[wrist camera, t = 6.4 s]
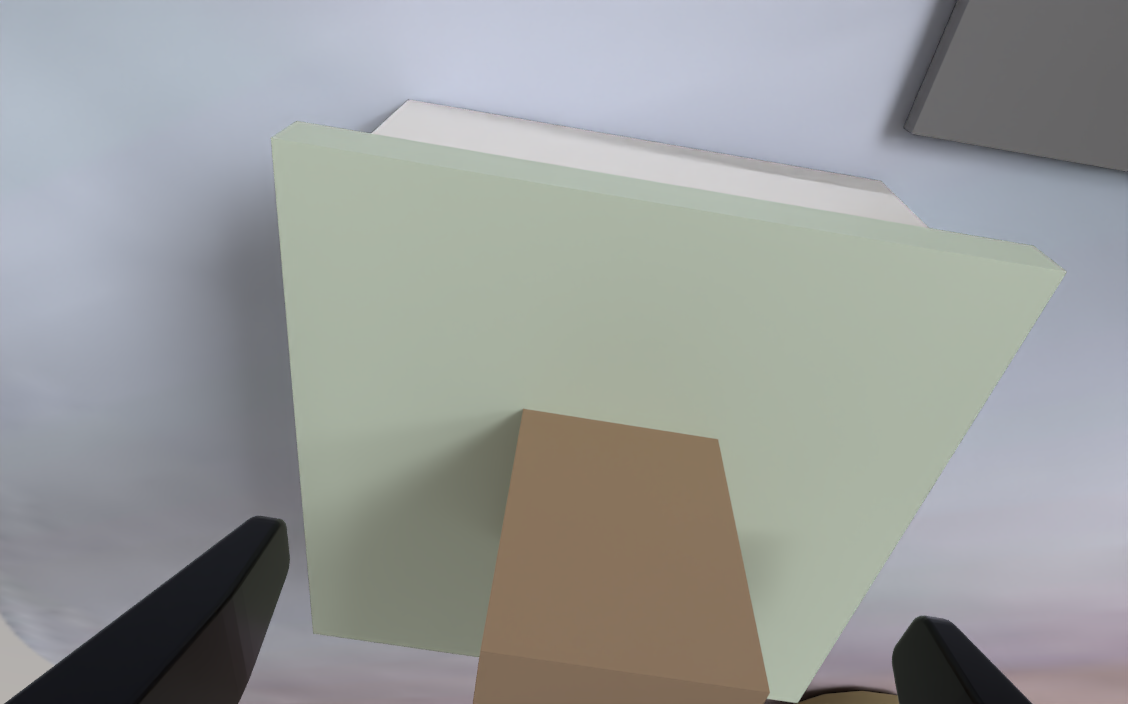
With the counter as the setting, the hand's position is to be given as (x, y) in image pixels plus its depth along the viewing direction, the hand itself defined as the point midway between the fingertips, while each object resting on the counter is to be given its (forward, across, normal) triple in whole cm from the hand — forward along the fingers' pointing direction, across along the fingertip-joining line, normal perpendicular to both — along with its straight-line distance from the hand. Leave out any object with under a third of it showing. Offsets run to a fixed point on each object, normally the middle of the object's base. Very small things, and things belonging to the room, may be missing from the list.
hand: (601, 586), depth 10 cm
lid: (+3, 0, 0) cm, 3 cm away
